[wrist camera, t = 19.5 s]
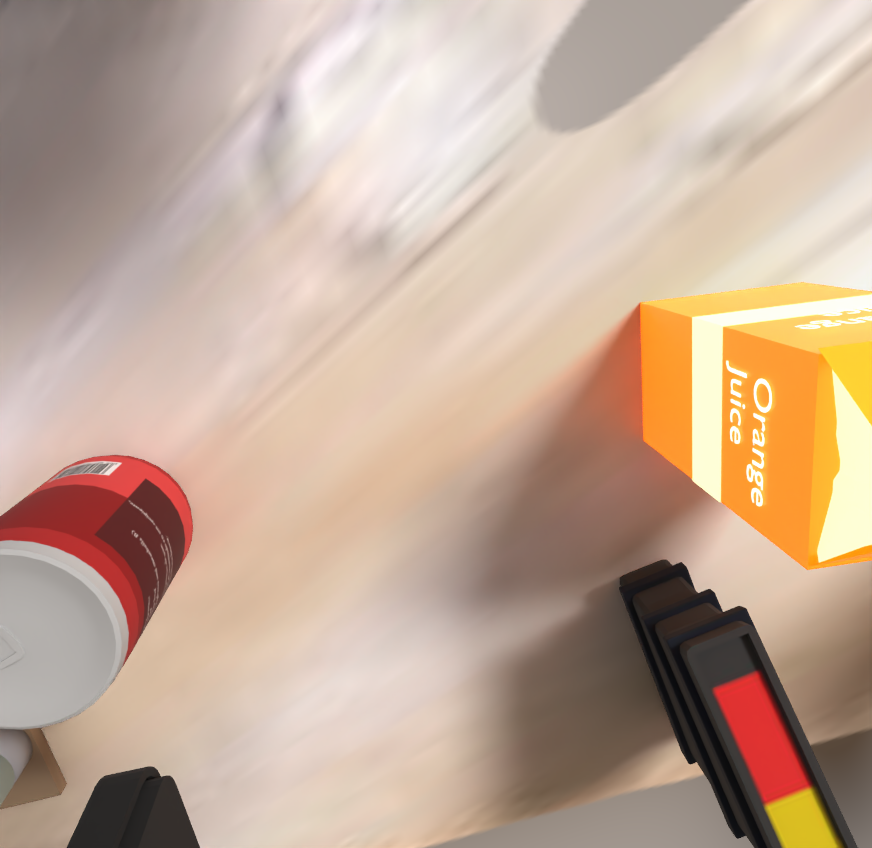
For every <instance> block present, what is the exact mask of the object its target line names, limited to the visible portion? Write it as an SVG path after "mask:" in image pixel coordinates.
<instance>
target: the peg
mask: <svg viewBox="0 0 872 848" xmlns="http://www.w3.org/2000/svg"><path fill="white" fill-rule="evenodd" d="M32 751H33V748H32V743H31V740H30V738H29V736H28V735H27V734H26V733H25V732H24V731H23V730H20V729H1V728H0V806H1V804H2V803H3V801H4V799H5V798H6V796H7V795H8V793H9V792H10V790H11V788H12V787H13V785H14V784H15V782H16V781H17V779H18V777H19V776H20V774H21V773H22V771H23V769H24V768H25V766H26V765H27V763H28V762H29V760H30V758H31V756H32Z"/></svg>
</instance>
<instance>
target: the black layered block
mask: <svg viewBox="0 0 872 848" xmlns="http://www.w3.org/2000/svg"><path fill="white" fill-rule="evenodd" d="M620 585H621V587H619V590H620V592H621V595H622V597H623V600H624V603H625V605H626V608H627V610H628V613H629V616H630V618H631V621H632V623H633V626H634V629H635V631H636V634H637V636H638V639H639V642H640V644H641V647H642V650H643V652H644V655H645V657H646V660H647V663H648V665H649V668H650V670H651V673H652V676H653V678H654V681H655V683H656V686H657V689H658V691H659V694H660V696H661V699H662V702H663V704H664V707H665V709H666V712H667V715H668V717H669V720H670V723H671V725H672V728H673V730H674V733H675V736H676V738H677V741H678V743H679V746H680V749H681V751H682V753H683V755H684V756H685V758H686V760H687V761H688V763H689V764H693V763H695V762H697V763H698V765H699V766H700V768H701V769H702V771H703V773H704V774H705V776H706V777H707V779H708V780H709V782H710V784H711V786H712V788H713V791H714V793H715V796H716V798H717V800H718V803H719V805H720V807H721V810H722V812H723V814H724V817H725V819H726V822H727V824H728V826H729V828H730V829H731V831H732V832H733V834H734V835H735V837H736V838H741V837H743V836H747V838H748V839H749V841H750V842H751V843H752V845H753V846H754V848H858V847H857V845H856V843H855V841H854V839H853V836H852V835H851V832H850V830H849V828H848V826H847V824H846V821H845V820H844V817H843V815H842V813H841V811H840V809H839V806H838V804H837V802H836V800H835V798H834V796H833V794H832V791H831V789H830V788H829V785H828V783H827V781H826V779H825V777H824V774H823V772H822V770H821V768H820V766H819V764H818V761H817V759H816V757H815V755H814V753H813V751H812V749H811V746H810V744H809V742H808V740H807V738H806V736H805V734H804V731H803V729H802V727H801V725H800V723H799V721H798V718H797V716H796V714H795V712H794V710H793V708H792V706H791V703H790V701H789V699H788V697H787V695H786V693H785V691H784V688H783V686H782V684H781V682H780V680H779V678H778V676H777V673H776V671H775V669H774V667H773V665H772V663H771V661H770V658H769V656H768V654H767V652H766V650H765V648H764V646H763V643H762V641H761V639H760V637H759V635H758V633H757V631H756V628H755V626H754V624H753V622H752V620H751V618H750V615H749V613H748V611H747V609H746V608H744V607H741V606H737V607H735V608H732V609H730V610H728V611H725V612H723V611H722V609H721V606H720V604H719V602H718V600H717V597H716V595H715V593H714V592H713V591H712V590H711V589H708V590H705V591H703V592H700V593H697V592H696V591H695V588H694V586H693V583H692V580H691V577H690V575H689V572H688V569H687V567H686V566H685V565H684V564H683V563H682V562H680V563H678V564H675V565H673V566H672V565H671V564H670V563H669V562H668V561H667V560H661V561H658V562H656V563H653V564H651V565H648V566H646V567H644V568H641V569H639V570H636V571H634V572H631V573H629V574H626V575H624V576H622V577H621V578H620Z"/></svg>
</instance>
